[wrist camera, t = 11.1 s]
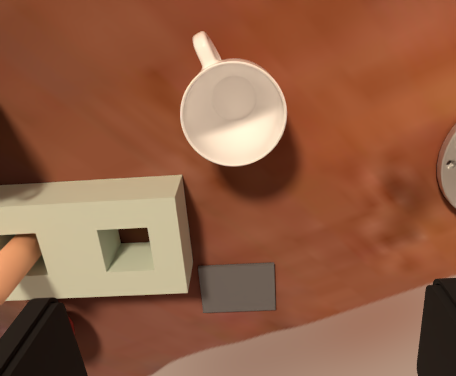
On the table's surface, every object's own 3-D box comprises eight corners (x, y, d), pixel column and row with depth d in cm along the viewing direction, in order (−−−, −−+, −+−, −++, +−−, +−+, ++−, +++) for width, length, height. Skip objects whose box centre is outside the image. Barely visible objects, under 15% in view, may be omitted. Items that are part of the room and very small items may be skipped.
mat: (273, 262, 42) (274, 264, 41) (275, 307, 44) (275, 309, 44) (198, 265, 42) (197, 268, 42) (203, 310, 45) (203, 312, 44)
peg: (53, 215, 40) (-1, 275, 31) (61, 240, 41) (11, 306, 32) (25, 216, 40) (-38, 277, 31) (32, 241, 41) (-25, 307, 32)
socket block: (182, 174, 38) (174, 197, 33) (193, 262, 42) (187, 292, 37) (-21, 186, 39) (-55, 209, 34) (9, 270, 43) (-18, 301, 38)
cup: (214, 153, 37) (209, 182, 31) (161, 51, 33) (144, 61, 27) (291, 118, 36) (303, 141, 29) (245, 7, 32) (246, 7, 26)
